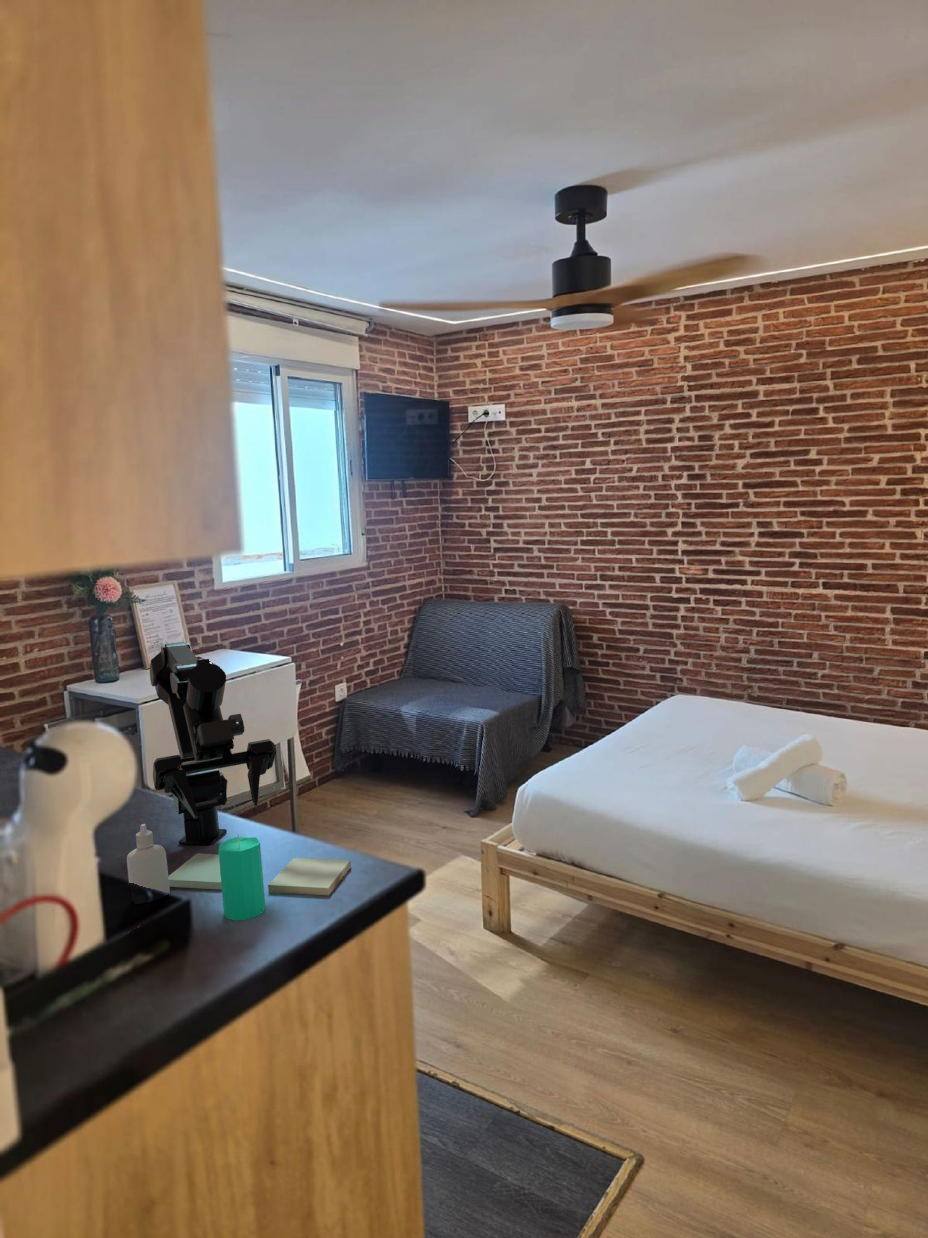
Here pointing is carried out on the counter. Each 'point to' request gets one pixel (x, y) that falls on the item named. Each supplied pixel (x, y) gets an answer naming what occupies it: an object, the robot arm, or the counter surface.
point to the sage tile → (198, 873)
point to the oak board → (310, 876)
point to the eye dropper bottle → (148, 863)
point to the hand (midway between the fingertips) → (226, 810)
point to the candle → (241, 878)
